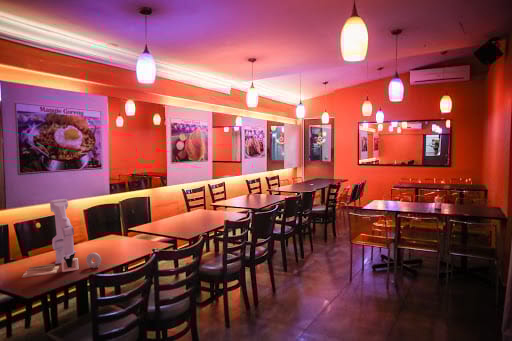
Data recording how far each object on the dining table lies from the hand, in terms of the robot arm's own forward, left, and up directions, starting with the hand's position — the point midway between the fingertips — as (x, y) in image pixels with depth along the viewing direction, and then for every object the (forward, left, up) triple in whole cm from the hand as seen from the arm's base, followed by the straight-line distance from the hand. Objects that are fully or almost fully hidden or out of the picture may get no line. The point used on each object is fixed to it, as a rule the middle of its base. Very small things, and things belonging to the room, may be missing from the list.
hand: (70, 266), depth 218 cm
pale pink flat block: (0, 0, -2) cm, 2 cm away
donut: (+2, +14, -3) cm, 14 cm away
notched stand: (-4, -17, -2) cm, 18 cm away
